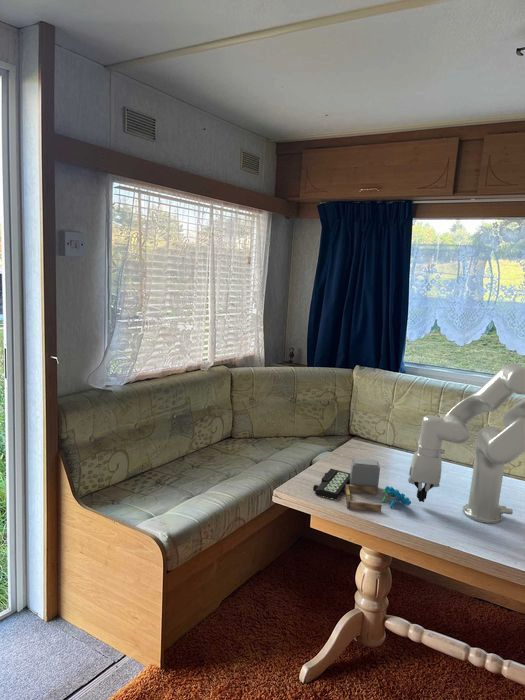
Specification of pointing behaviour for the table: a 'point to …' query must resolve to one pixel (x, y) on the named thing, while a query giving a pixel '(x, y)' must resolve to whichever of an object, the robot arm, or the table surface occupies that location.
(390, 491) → the gear
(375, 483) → the box
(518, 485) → the table surface
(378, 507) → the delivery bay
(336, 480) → the digital display
